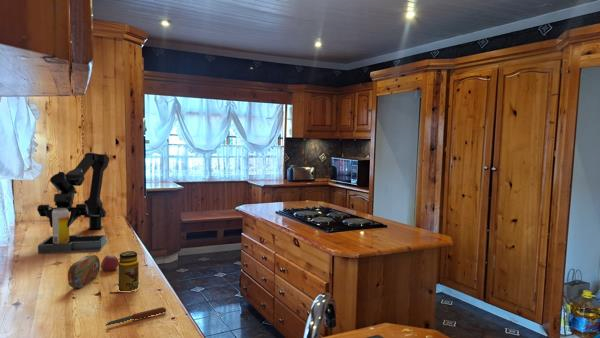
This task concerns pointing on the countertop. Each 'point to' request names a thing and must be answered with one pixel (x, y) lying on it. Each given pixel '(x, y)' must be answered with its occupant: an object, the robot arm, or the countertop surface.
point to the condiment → (128, 271)
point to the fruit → (109, 263)
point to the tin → (83, 271)
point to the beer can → (60, 225)
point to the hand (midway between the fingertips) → (59, 226)
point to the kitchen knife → (139, 315)
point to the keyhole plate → (73, 244)
